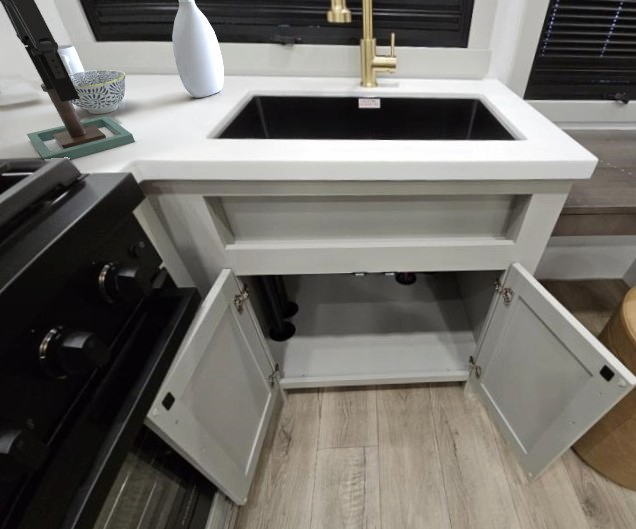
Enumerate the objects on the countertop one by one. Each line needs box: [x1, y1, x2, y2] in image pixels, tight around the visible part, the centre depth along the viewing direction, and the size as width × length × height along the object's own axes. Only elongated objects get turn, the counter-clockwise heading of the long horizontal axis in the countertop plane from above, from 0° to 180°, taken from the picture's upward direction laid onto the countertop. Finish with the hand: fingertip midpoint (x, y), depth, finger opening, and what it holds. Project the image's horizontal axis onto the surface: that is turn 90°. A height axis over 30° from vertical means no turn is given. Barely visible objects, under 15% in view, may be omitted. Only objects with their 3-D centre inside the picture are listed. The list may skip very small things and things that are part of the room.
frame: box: [26, 115, 136, 160], centre depth 68 cm, size 16×16×2 cm
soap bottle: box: [171, 0, 225, 99], centre depth 84 cm, size 14×8×27 cm, turn 145°
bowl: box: [69, 69, 126, 115], centre depth 81 cm, size 16×16×8 cm
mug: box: [57, 44, 85, 74], centre depth 87 cm, size 10×7×12 cm, turn 33°
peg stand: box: [39, 82, 107, 150], centre depth 65 cm, size 8×8×11 cm
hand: (62, 93), depth 57 cm, fingers open, 10 cm apart
